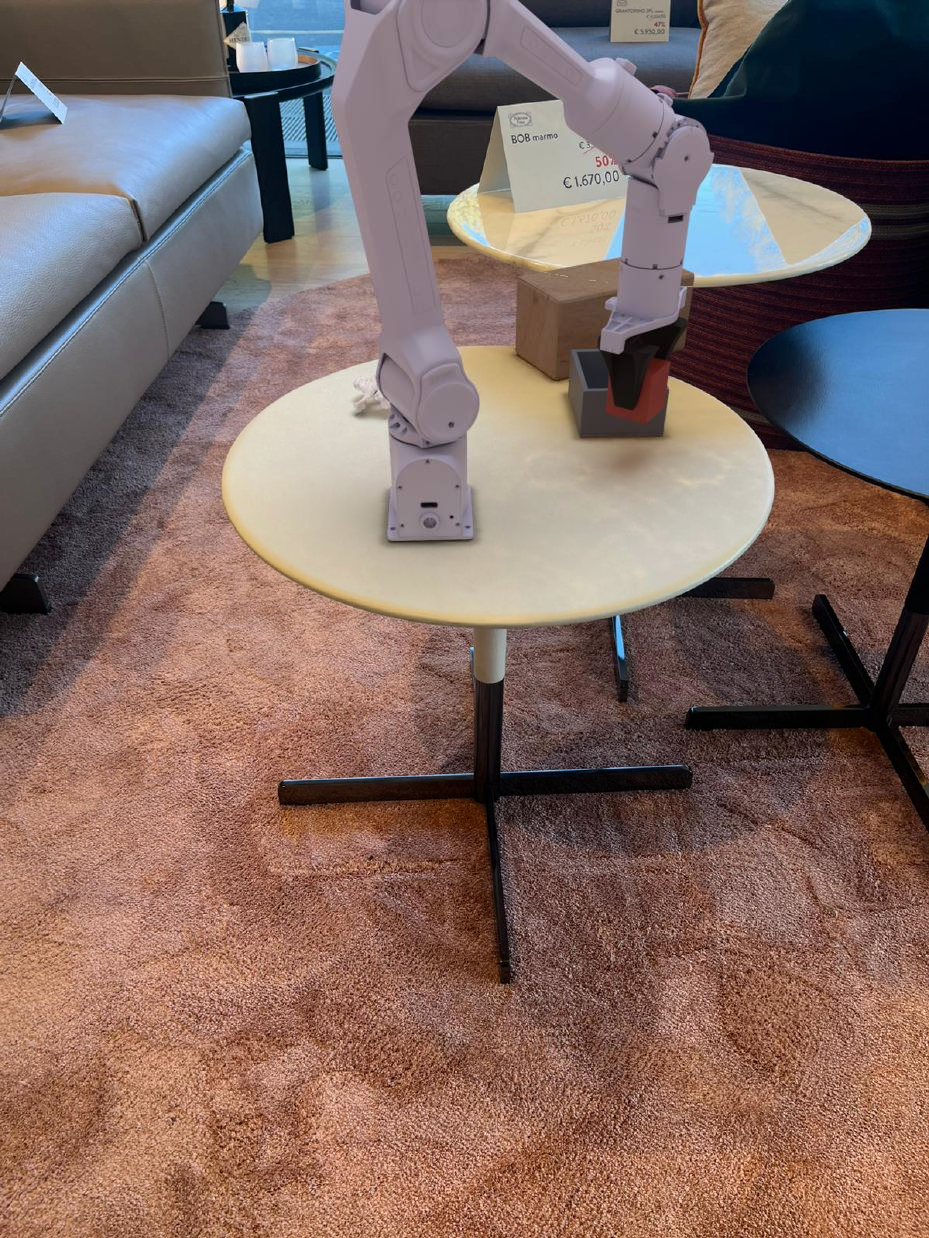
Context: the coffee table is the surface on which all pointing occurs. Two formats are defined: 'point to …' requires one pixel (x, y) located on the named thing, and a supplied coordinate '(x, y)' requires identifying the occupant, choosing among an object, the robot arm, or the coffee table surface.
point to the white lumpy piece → (369, 392)
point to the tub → (602, 400)
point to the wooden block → (570, 312)
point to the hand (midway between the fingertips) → (635, 397)
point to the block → (645, 394)
